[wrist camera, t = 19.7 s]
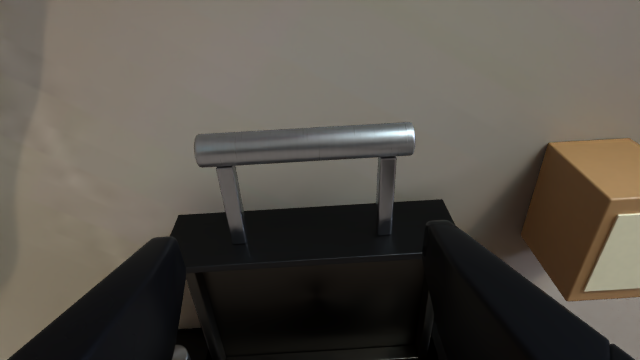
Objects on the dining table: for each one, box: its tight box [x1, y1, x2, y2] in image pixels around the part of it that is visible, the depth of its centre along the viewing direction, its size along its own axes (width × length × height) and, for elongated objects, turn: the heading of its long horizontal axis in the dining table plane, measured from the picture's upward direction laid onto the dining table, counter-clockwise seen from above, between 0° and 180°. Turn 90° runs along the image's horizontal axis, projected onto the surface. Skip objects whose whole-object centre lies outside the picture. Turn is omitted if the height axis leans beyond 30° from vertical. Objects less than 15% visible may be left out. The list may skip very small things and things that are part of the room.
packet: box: [521, 138, 640, 301], centre depth 21 cm, size 4×6×5 cm
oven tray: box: [170, 122, 455, 360], centre depth 22 cm, size 14×18×4 cm
